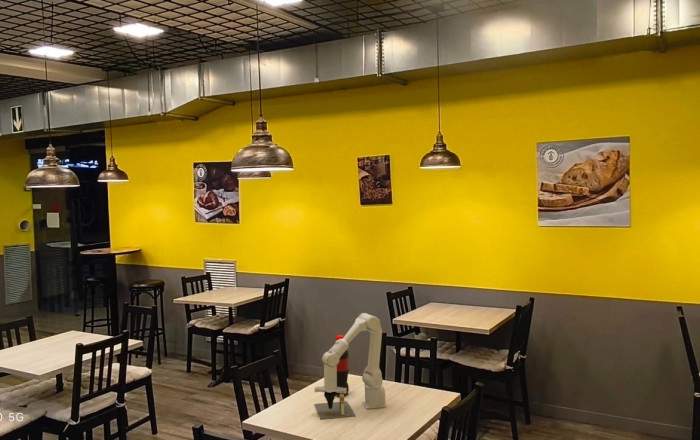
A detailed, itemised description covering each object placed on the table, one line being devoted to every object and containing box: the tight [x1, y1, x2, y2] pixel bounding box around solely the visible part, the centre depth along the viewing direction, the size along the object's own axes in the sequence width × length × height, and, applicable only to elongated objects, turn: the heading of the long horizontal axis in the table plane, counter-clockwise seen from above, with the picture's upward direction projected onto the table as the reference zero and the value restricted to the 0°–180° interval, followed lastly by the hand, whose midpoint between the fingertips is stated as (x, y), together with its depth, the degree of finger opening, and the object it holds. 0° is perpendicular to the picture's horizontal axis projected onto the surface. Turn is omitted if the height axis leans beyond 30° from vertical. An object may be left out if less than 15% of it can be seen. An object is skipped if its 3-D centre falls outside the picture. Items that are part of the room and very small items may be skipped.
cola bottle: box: [335, 334, 350, 397], centre depth 276 cm, size 8×8×30 cm
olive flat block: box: [339, 394, 346, 415], centre depth 252 cm, size 10×2×6 cm, turn 4°
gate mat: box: [313, 393, 356, 420], centre depth 255 cm, size 16×18×8 cm
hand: (330, 407), depth 251 cm, fingers closed
